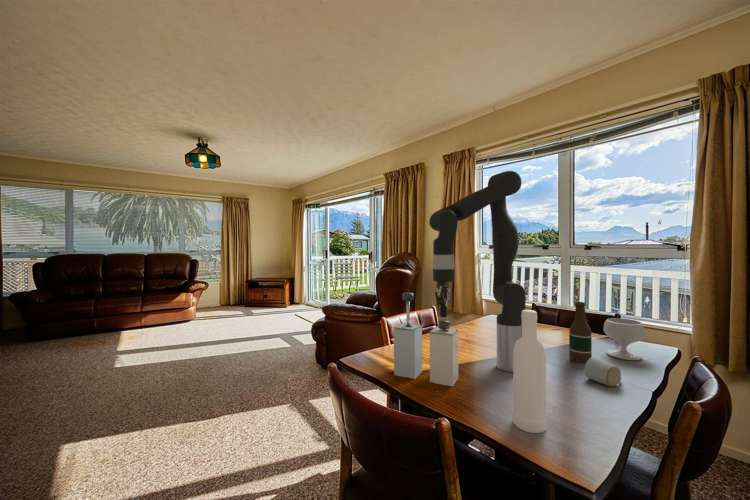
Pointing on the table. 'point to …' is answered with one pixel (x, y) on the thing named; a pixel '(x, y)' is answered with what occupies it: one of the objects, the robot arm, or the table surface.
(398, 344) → the block
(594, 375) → the cream cylinder
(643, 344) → the table surface
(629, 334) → the chalice
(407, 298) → the grey plunger
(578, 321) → the beer bottle
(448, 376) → the block
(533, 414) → the bottle
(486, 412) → the table surface
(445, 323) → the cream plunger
